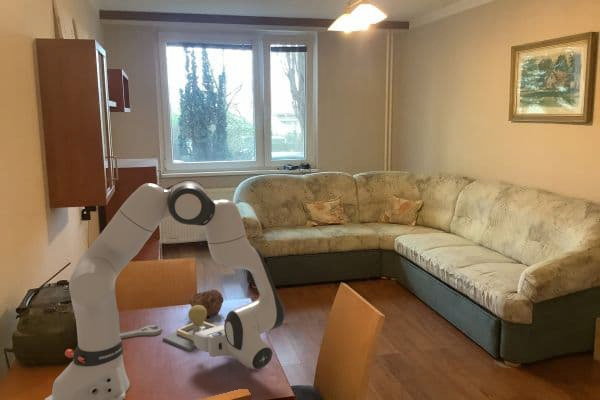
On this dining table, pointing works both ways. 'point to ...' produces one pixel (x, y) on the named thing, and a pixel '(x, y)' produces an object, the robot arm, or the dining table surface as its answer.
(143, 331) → the adjustable wrench
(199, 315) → the light bulb
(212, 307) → the decorative rock
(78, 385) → the robot arm
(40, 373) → the dining table surface
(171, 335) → the board
